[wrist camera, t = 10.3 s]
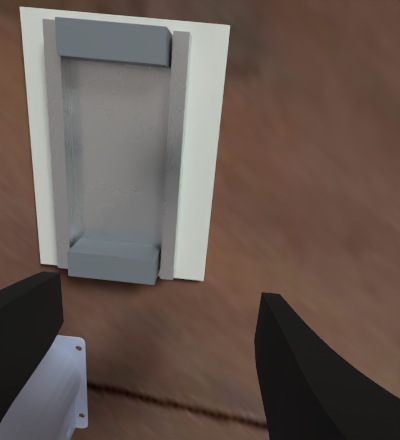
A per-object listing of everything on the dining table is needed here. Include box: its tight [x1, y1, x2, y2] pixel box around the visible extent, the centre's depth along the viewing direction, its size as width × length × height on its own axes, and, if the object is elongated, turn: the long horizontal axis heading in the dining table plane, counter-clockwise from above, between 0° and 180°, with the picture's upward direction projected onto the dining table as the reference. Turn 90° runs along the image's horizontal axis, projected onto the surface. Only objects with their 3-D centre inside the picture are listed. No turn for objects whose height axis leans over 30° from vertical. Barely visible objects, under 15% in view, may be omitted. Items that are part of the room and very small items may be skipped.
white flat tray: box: [20, 7, 230, 285], centre depth 19 cm, size 15×11×3 cm
